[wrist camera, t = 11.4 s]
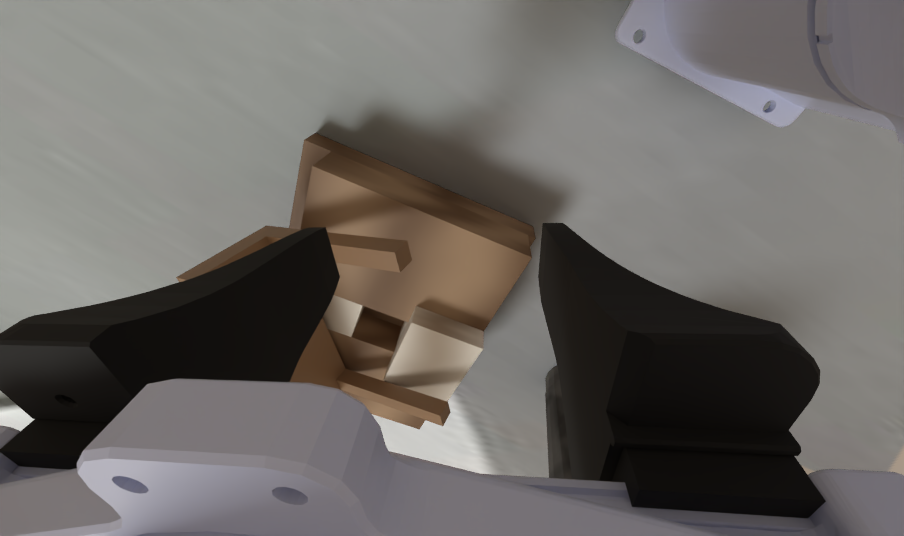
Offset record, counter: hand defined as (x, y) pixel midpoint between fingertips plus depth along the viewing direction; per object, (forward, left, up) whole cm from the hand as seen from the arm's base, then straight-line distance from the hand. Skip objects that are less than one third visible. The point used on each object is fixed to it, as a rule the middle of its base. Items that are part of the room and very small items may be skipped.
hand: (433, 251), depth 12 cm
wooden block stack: (+5, +11, -10) cm, 16 cm away
